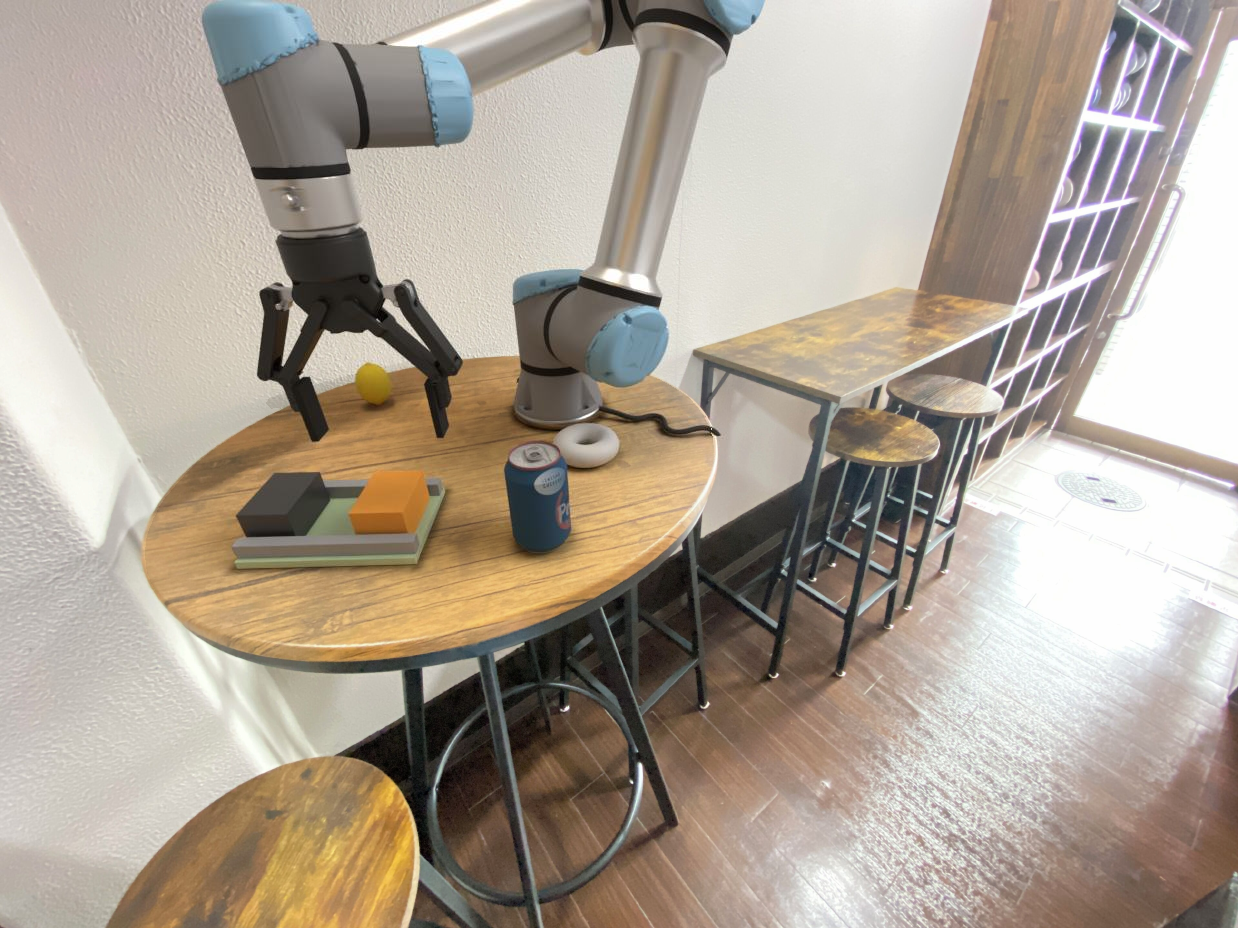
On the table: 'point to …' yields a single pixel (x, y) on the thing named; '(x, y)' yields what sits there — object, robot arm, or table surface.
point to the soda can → (538, 496)
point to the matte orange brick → (391, 503)
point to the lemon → (373, 383)
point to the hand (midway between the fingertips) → (382, 434)
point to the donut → (591, 455)
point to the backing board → (321, 526)
